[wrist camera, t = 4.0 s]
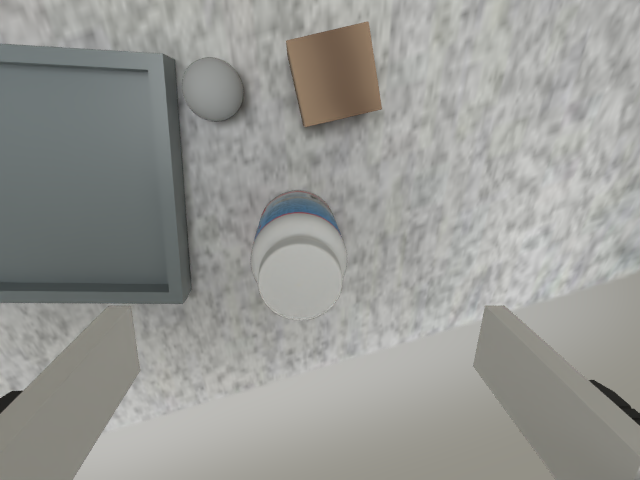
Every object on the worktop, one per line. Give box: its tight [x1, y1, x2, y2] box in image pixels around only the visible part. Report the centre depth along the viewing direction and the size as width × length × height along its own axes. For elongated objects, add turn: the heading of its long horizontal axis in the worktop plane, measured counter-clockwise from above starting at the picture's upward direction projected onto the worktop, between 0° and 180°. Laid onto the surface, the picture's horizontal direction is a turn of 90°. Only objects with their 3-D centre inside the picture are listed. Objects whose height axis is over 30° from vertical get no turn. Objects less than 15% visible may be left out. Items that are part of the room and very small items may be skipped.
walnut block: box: [286, 22, 382, 127], centre depth 25 cm, size 5×5×5 cm
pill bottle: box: [251, 191, 347, 320], centre depth 25 cm, size 6×6×11 cm
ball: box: [182, 57, 243, 121], centre depth 25 cm, size 4×4×4 cm
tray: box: [0, 44, 191, 304], centre depth 27 cm, size 18×18×2 cm
